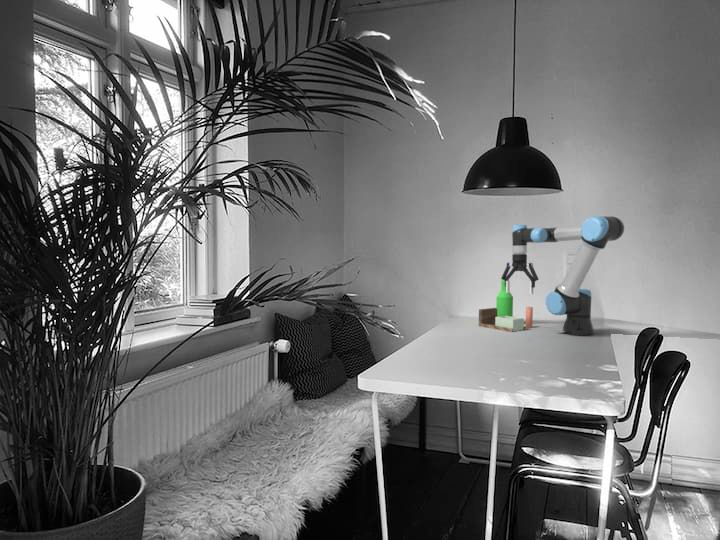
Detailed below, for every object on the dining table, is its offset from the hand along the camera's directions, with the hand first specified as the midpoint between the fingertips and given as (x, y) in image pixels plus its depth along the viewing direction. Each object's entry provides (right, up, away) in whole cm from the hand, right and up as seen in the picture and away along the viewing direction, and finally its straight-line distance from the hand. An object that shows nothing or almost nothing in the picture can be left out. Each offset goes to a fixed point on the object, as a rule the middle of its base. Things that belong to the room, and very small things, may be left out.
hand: (519, 293), depth 341 cm
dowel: (+4, -19, -4) cm, 20 cm away
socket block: (-8, -18, -10) cm, 22 cm away
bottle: (-5, -18, +13) cm, 23 cm away
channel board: (-11, -19, -6) cm, 23 cm away
